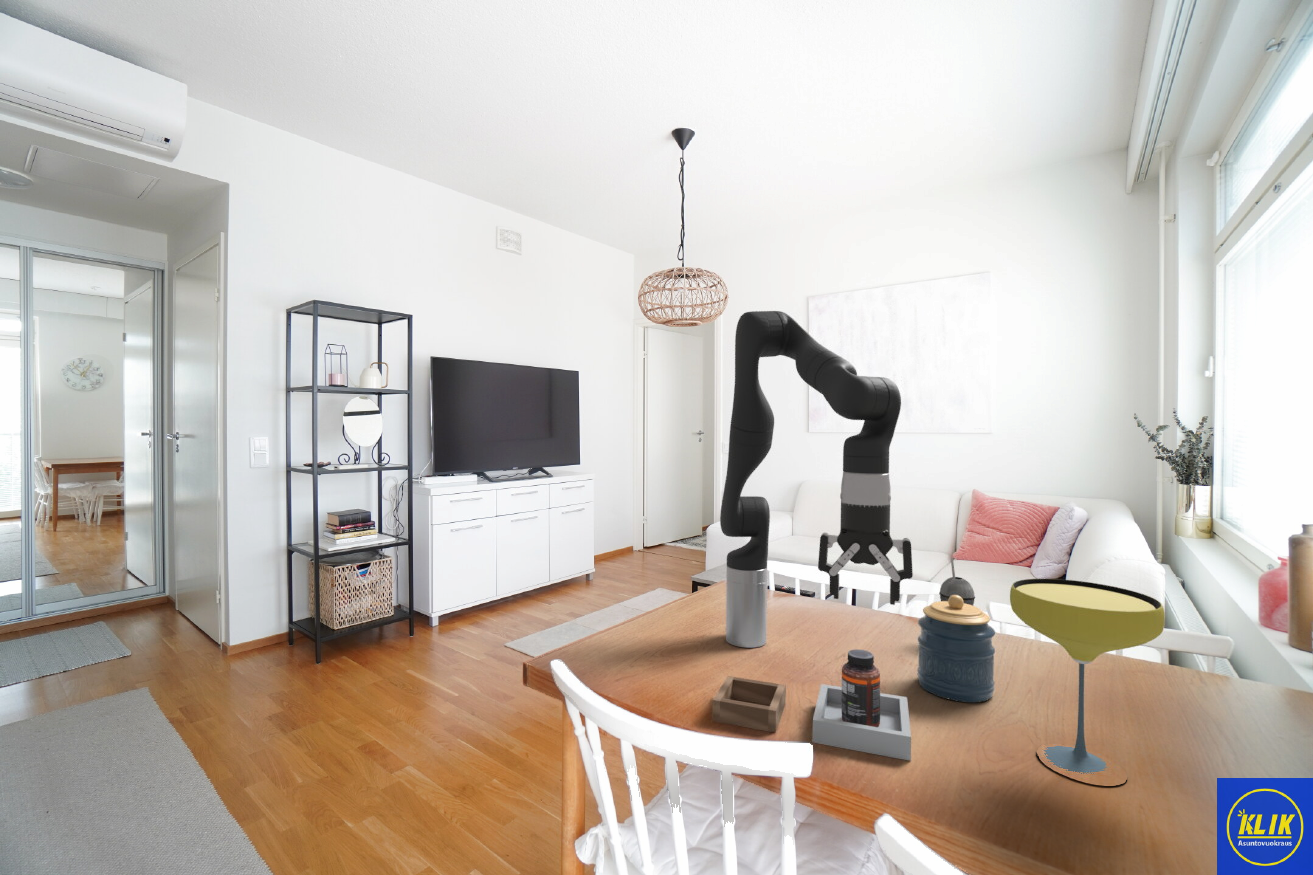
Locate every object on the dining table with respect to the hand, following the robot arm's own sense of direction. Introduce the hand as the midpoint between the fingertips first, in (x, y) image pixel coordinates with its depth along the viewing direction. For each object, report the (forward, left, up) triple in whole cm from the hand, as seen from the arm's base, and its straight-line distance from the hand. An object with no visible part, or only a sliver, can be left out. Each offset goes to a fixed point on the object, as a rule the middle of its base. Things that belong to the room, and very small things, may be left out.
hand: (863, 600), depth 95 cm
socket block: (+1, -18, -21) cm, 28 cm away
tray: (0, 0, -21) cm, 21 cm away
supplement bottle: (0, 0, -20) cm, 20 cm away
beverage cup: (-48, +19, -21) cm, 56 cm away
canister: (-23, +16, -21) cm, 35 cm away
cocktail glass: (-1, +30, -21) cm, 37 cm away
